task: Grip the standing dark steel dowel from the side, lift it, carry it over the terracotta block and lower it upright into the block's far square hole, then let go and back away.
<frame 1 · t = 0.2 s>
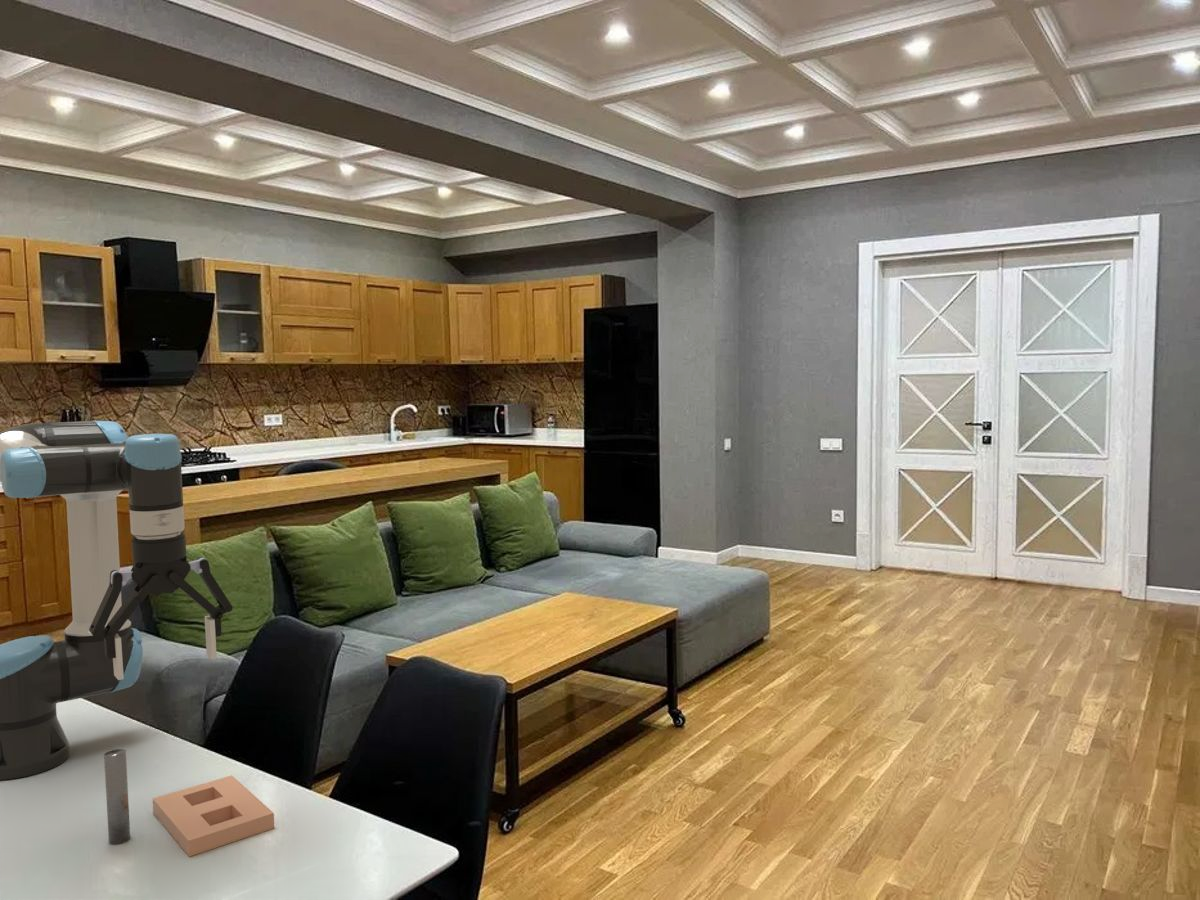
hand: (166, 667, 141), 27 cm above the table, tool pointing down, fingers open, 13 cm apart
steel dowel: (119, 839, 141), on the table
terracotta block: (212, 820, 147), on the table
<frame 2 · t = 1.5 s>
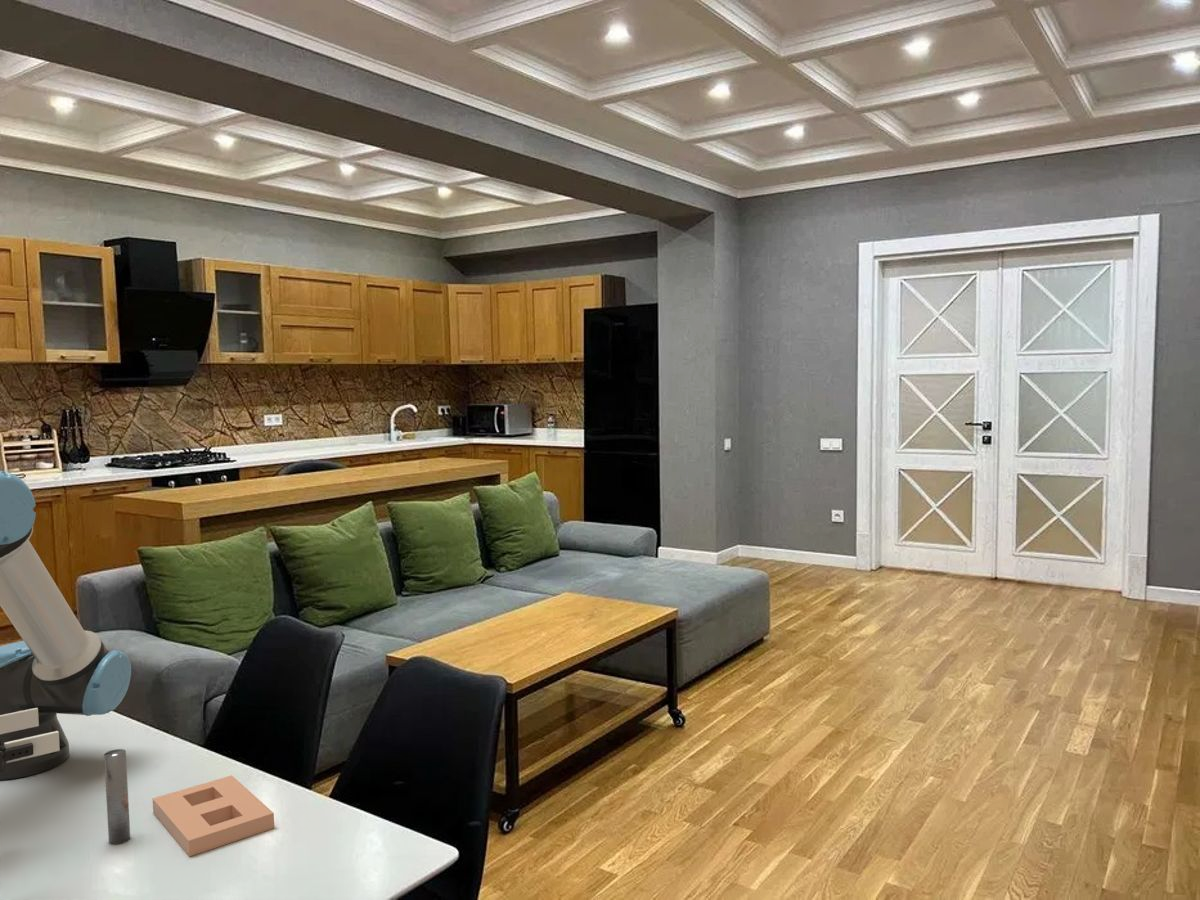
hand: (48, 728, 134), 20 cm above the table, tool horizontal, fingers open, 13 cm apart
nothing on the table moved.
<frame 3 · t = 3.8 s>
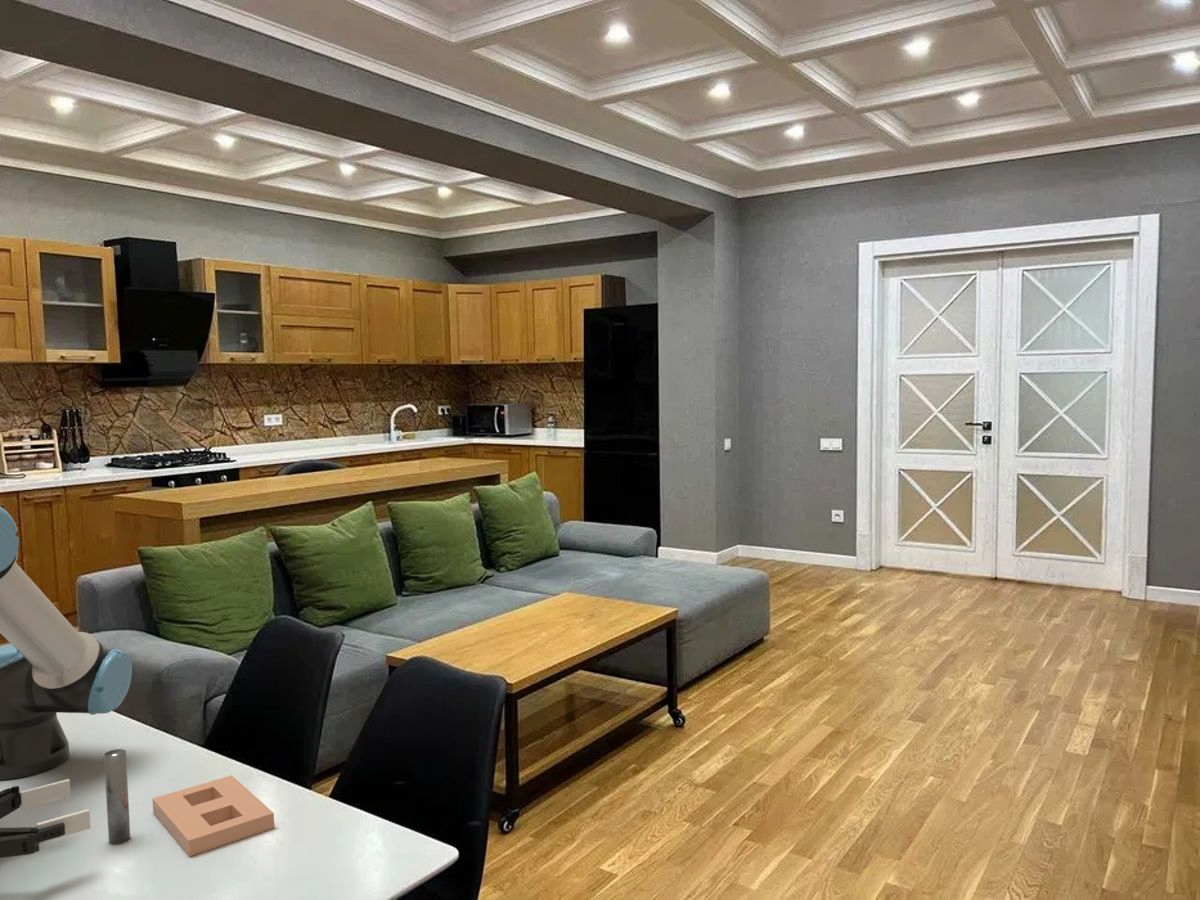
hand: (79, 802, 137), 8 cm above the table, tool horizontal, fingers open, 13 cm apart
nothing on the table moved.
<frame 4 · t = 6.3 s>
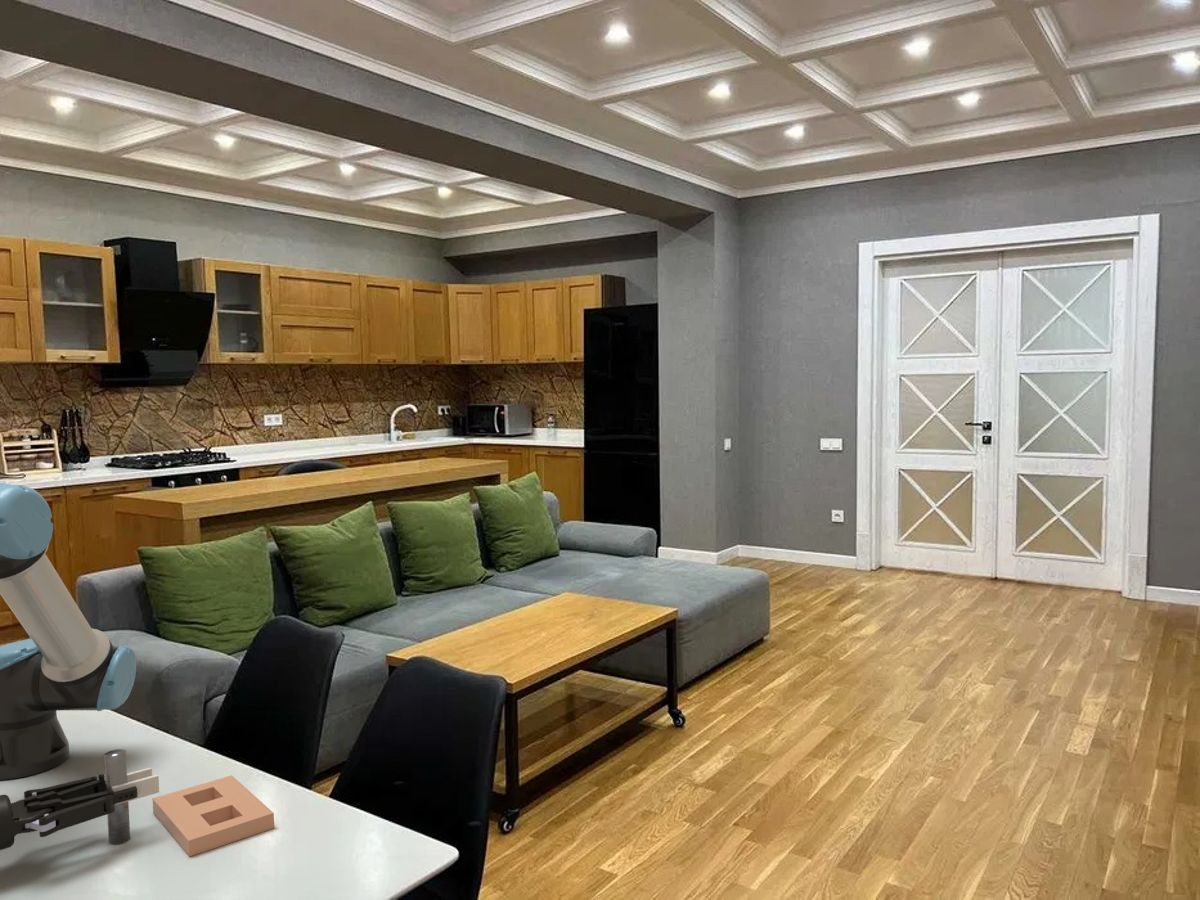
hand: (154, 779, 144), 8 cm above the table, tool horizontal, fingers closed on steel dowel, 3 cm apart
steel dowel: (119, 839, 141), on the table, touching gripper
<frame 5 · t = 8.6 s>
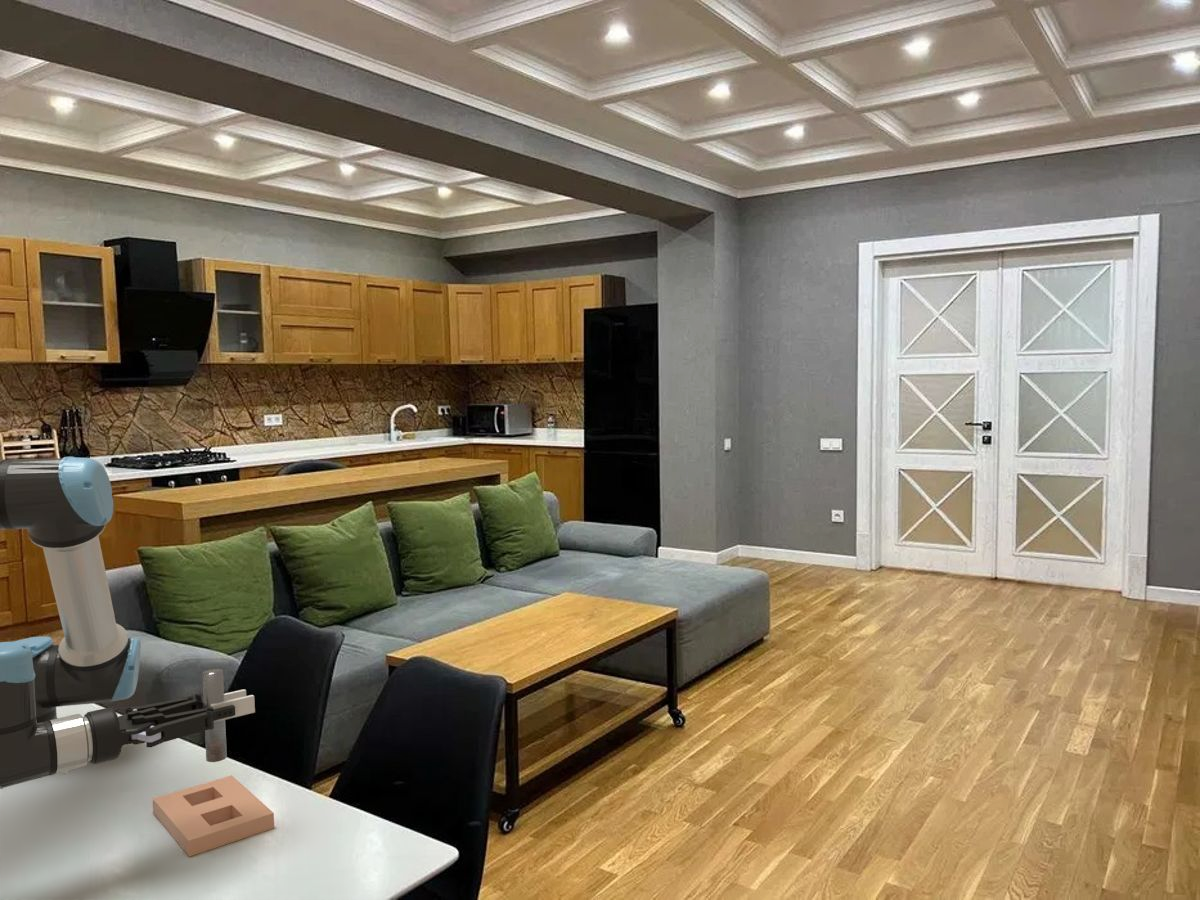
hand: (249, 700, 146), 20 cm above the table, tool horizontal, fingers closed on steel dowel, 3 cm apart
steel dowel: (216, 758, 143), point 12 cm above the table, touching gripper
when the fingers open (9 cm above the table, at t = 11.4 s): steel dowel stays where it is, resting in terracotta block.
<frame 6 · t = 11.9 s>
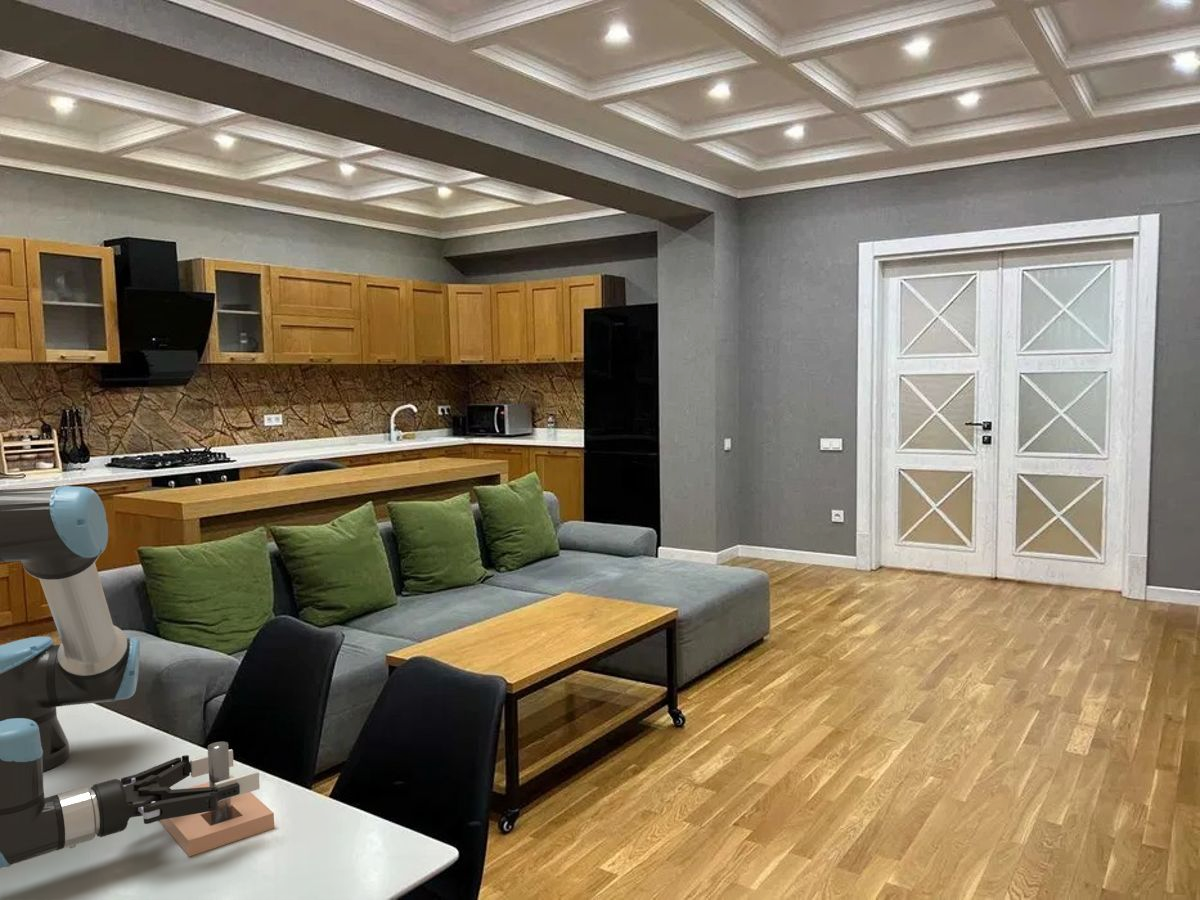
hand: (245, 768, 146), 9 cm above the table, tool horizontal, fingers open, 11 cm apart
steel dowel: (221, 830, 144), resting in terracotta block
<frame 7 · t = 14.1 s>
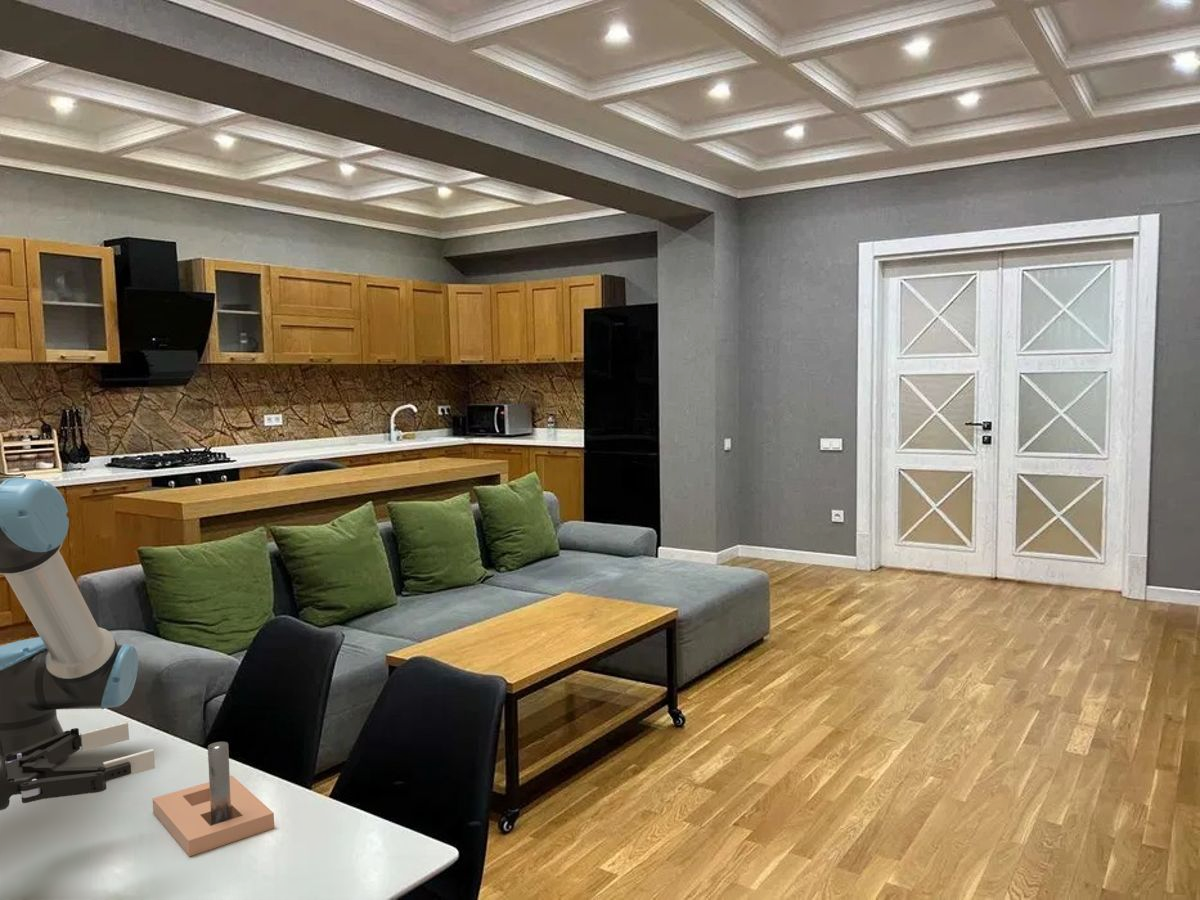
hand: (140, 743, 137), 17 cm above the table, tool horizontal, fingers open, 13 cm apart
nothing on the table moved.
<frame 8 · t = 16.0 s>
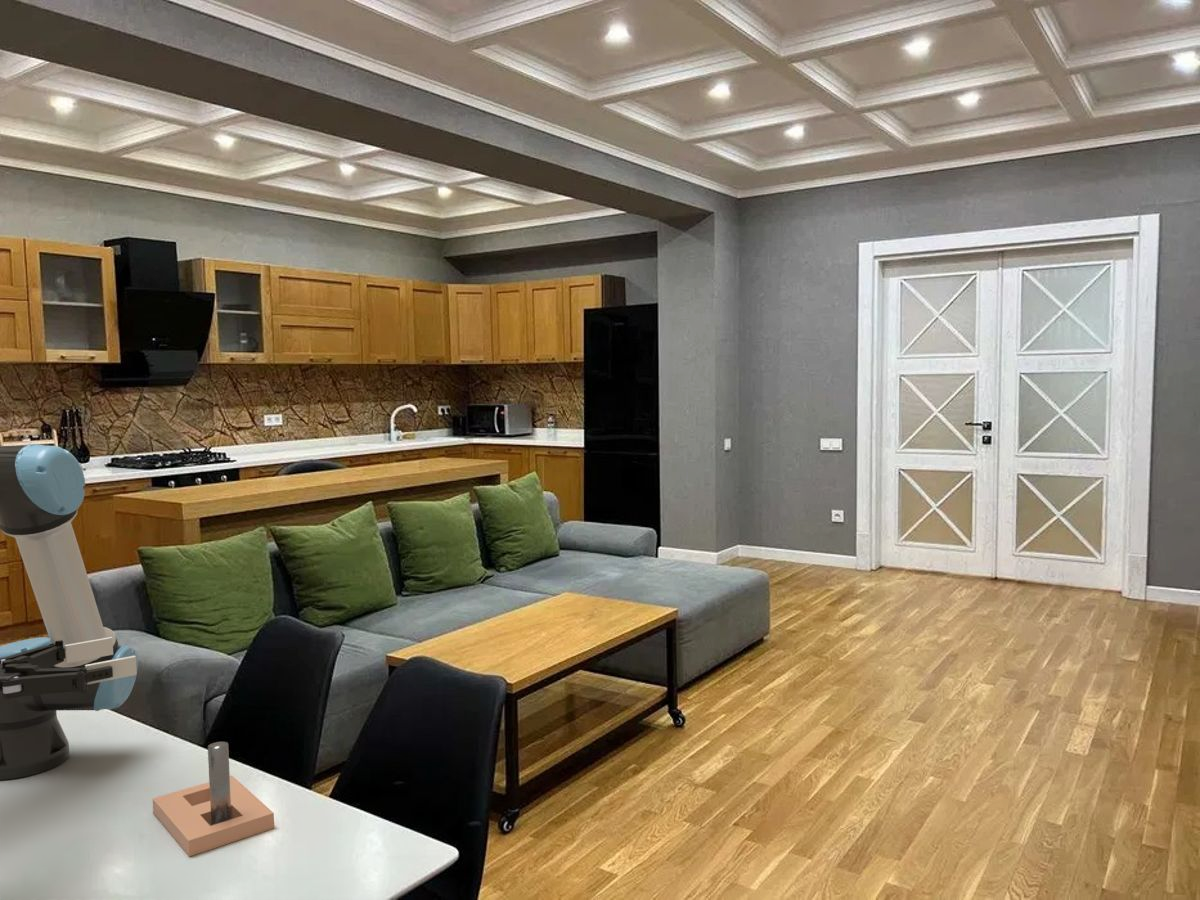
hand: (123, 654, 138), 30 cm above the table, tool horizontal, fingers open, 13 cm apart
nothing on the table moved.
at the end: steel dowel 0.0 cm from the target spot on the terracotta block, point 0.0 cm above the terracotta block's base; steel dowel tilted 0°; the gripper is holding nothing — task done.
